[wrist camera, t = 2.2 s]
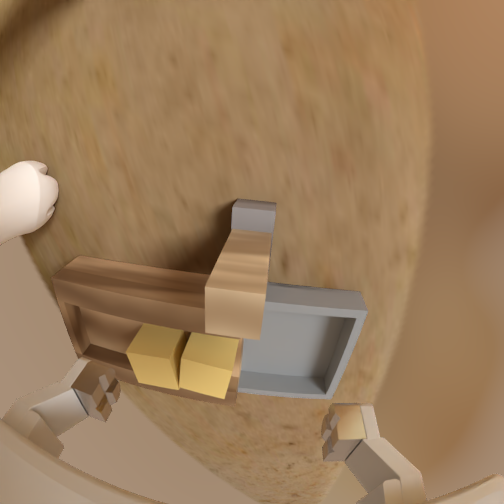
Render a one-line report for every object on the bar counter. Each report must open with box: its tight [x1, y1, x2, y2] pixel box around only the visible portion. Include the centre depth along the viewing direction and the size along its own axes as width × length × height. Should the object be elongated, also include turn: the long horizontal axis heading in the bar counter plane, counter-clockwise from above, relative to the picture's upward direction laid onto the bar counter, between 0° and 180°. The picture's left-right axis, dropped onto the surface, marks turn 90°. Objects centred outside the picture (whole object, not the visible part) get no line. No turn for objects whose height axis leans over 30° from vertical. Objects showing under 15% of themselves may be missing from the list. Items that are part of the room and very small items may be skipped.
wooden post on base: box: [205, 199, 276, 340], centre depth 18 cm, size 6×3×10 cm, turn 175°
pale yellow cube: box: [179, 332, 239, 399], centre depth 22 cm, size 4×4×4 cm
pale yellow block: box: [126, 323, 187, 390], centre depth 23 cm, size 4×4×4 cm
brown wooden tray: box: [51, 255, 244, 407], centre depth 25 cm, size 12×18×5 cm, turn 85°
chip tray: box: [238, 282, 368, 399], centre depth 25 cm, size 12×10×3 cm
